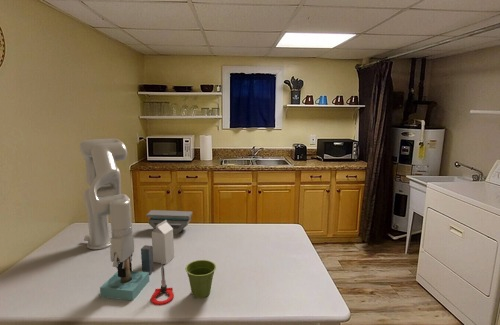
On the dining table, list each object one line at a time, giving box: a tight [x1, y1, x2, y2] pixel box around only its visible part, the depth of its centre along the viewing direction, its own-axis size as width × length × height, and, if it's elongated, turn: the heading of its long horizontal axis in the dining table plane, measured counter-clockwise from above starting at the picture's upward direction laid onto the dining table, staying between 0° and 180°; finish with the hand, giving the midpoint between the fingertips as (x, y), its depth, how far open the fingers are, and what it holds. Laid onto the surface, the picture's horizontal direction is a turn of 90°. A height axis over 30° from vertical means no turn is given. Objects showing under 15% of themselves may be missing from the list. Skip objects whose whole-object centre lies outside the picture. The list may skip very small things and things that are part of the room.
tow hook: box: [150, 262, 175, 306], centre depth 119 cm, size 8×13×9 cm
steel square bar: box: [140, 244, 155, 276], centre depth 137 cm, size 4×4×12 cm
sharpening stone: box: [146, 209, 193, 235], centre depth 183 cm, size 25×8×11 cm, turn 86°
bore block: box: [99, 270, 150, 301], centre depth 126 cm, size 13×13×4 cm
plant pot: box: [184, 259, 217, 299], centre depth 122 cm, size 12×12×11 cm
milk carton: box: [151, 220, 175, 265], centre depth 148 cm, size 7×7×19 cm
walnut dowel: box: [119, 257, 131, 283], centre depth 124 cm, size 4×4×12 cm
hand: (125, 273), depth 125 cm, fingers closed on walnut dowel, 3 cm apart
